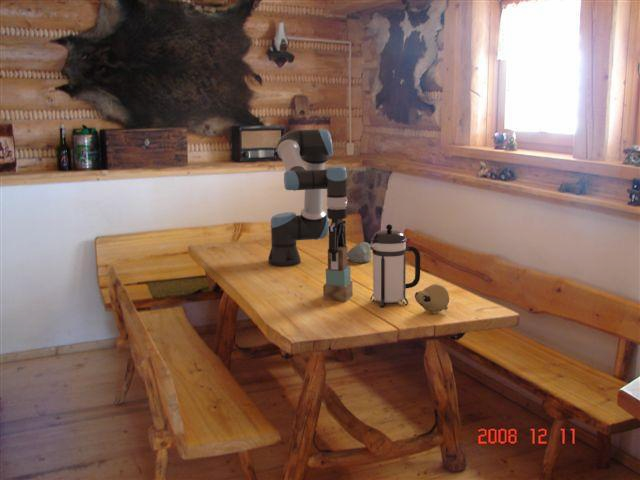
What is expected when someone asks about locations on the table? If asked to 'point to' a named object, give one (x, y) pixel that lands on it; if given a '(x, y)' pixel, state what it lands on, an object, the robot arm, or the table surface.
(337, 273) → the tower top
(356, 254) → the decorative stone
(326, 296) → the tower base
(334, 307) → the table surface
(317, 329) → the table surface
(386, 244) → the coffee press
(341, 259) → the walnut block
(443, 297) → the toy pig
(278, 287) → the table surface
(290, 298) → the table surface
